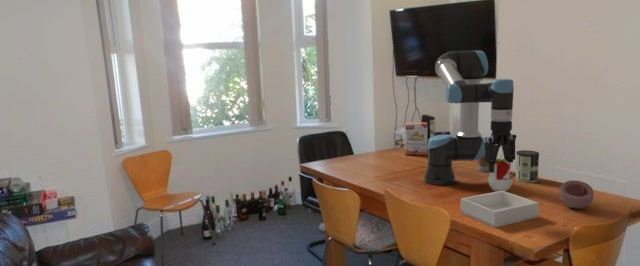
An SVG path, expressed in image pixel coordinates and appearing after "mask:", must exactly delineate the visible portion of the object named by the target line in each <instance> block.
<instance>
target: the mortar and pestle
mask: <svg viewBox="0 0 640 266" xmlns="http://www.w3.org/2000/svg"><path fill="white" fill-rule="evenodd" d="M558 190H559V191H558V193H559V198H560V200H561V202H562V203H563V204H564V205H565V206H567V207H568V208H572V209H577V210H580V209H585V208H586V207H588V206H589V205H591V204H592V202H593V200H594V196H595V195H594V194H595V192H594V189H593V188H592V186H591V185H590V184H588V183H587V182H583V181H581V180H574V179H572V180H567V181H565V182H563V183H562V184H561V185H560V187H559V189H558Z"/></svg>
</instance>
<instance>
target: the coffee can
mask: <svg viewBox="0 0 640 266" xmlns="http://www.w3.org/2000/svg"><path fill="white" fill-rule="evenodd" d="M515 154H516V157H515V160H516V161H515V163H516V164H515V180H516V181H518V182H522V183H537V182H538V181H539V161H540V160H539V158H540V152H538V151H535V150H525V149H524V150H518V151H515Z"/></svg>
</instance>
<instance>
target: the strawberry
mask: <svg viewBox="0 0 640 266" xmlns="http://www.w3.org/2000/svg"><path fill="white" fill-rule="evenodd" d="M502 156H503V155H501V157H500V158H496V162H495V164H497V174H496V178H497V179H498V180H501V179H502V178H503V177H504V176H505V175H506V174H507V172H508V170H509V164H508V163H507V162H508V161H507V162H505V161H506V160H507V159H504V158H502Z"/></svg>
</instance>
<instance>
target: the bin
mask: <svg viewBox="0 0 640 266" xmlns="http://www.w3.org/2000/svg"><path fill="white" fill-rule="evenodd" d="M539 203H540V202H537V201H534V200H531V199H528V198H525V197H523V196H520V195H517V194H514V193H511V192H505V191H497V192H495V191H493V192H492V191H491V192H489V193H488V192H487V193H483V194H478V195H477V194H476V195H472V196H467V197H462V198H460V204H459V205H460V206H459V207H460V208H459V209H460V210H459V211H460V214H461V215H464V216H467V217H469V218H471V219H473V220H476V221H478V222H480V223H482V224H484V225H487V226H489V227H491V228H499V227H503V226H508V225H511V224H516V223H521V222H524V221H530V220H534V219H538V218H539V206H540V205H539Z"/></svg>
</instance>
